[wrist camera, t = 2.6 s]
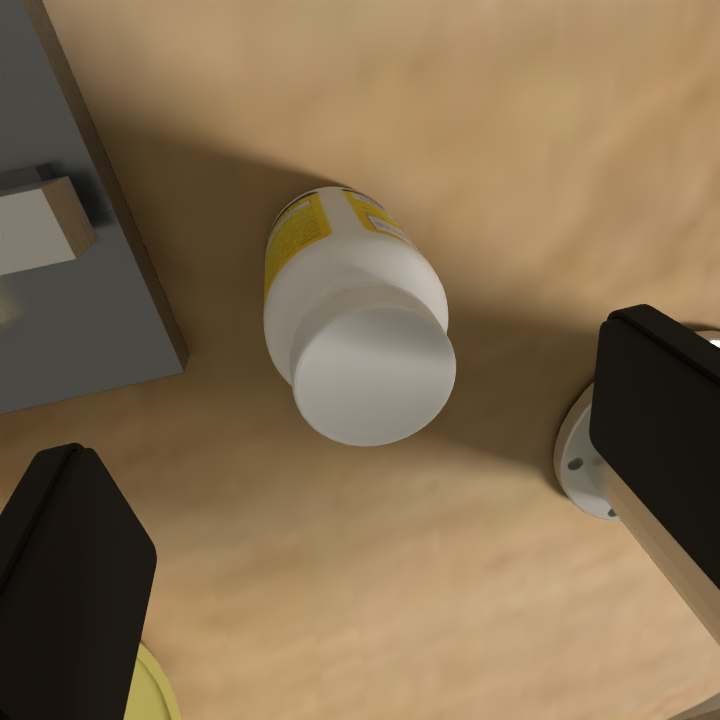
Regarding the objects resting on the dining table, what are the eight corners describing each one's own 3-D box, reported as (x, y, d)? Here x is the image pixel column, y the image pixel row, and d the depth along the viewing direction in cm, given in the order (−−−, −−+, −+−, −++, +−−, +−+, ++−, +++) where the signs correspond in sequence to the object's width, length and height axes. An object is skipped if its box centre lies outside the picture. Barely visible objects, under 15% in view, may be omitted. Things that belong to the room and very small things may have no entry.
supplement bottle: (272, 318, 21) (270, 479, 12) (258, 186, 18) (243, 279, 10) (396, 310, 21) (472, 457, 13) (400, 181, 19) (500, 264, 10)
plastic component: (-198, 692, 25) (-151, 713, 19) (-66, 558, 30) (-2, 546, 25) (98, 819, 33) (187, 857, 28) (160, 696, 39) (244, 709, 33)
